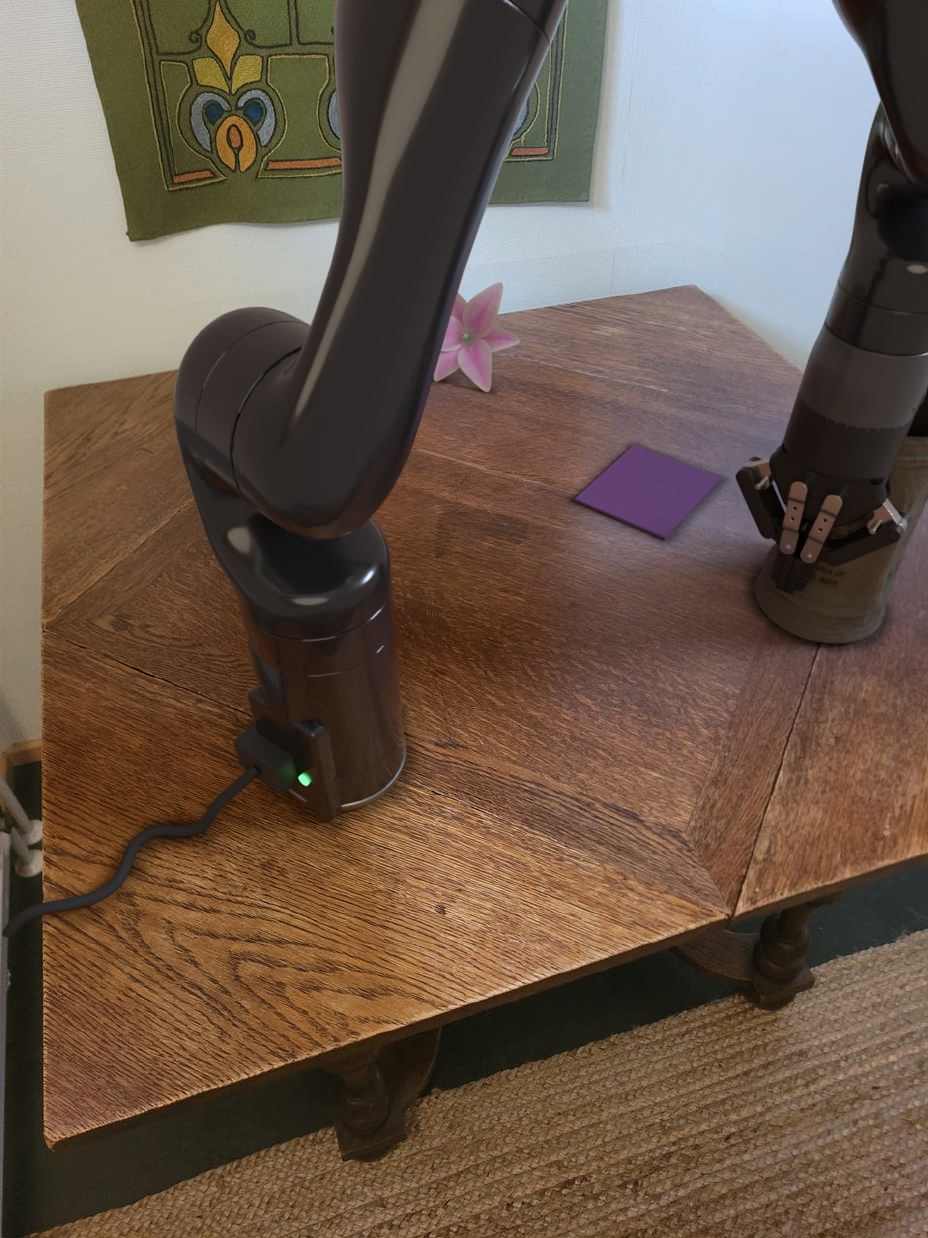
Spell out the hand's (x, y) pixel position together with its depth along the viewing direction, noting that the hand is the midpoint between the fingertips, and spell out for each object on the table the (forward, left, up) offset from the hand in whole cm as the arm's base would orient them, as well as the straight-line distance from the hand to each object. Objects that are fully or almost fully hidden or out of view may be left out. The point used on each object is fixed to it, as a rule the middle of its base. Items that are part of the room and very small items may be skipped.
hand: (787, 586), depth 70 cm
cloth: (+11, +18, -5) cm, 22 cm away
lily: (+19, +47, -5) cm, 51 cm away
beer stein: (+8, -1, -5) cm, 10 cm away
